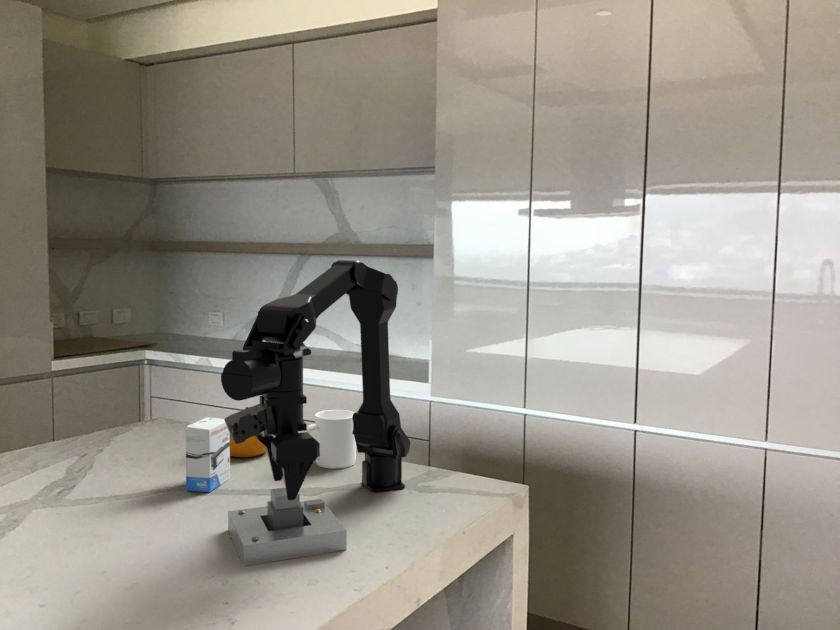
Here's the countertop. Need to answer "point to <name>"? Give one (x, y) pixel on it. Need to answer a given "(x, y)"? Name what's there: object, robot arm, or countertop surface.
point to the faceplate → (285, 534)
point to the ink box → (207, 454)
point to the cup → (334, 438)
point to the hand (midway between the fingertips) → (284, 489)
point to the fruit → (247, 447)
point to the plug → (283, 511)
